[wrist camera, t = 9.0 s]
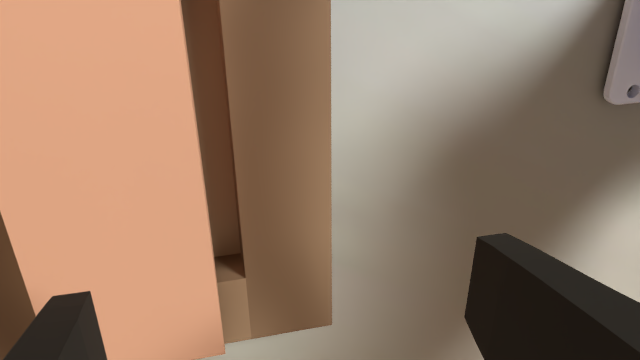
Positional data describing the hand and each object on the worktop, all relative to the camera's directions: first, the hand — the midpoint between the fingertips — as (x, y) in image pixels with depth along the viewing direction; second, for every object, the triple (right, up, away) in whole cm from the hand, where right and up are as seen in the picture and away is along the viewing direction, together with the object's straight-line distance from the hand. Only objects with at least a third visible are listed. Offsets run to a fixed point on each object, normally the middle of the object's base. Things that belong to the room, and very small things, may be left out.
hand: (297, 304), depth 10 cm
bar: (-5, +5, +6) cm, 9 cm away
